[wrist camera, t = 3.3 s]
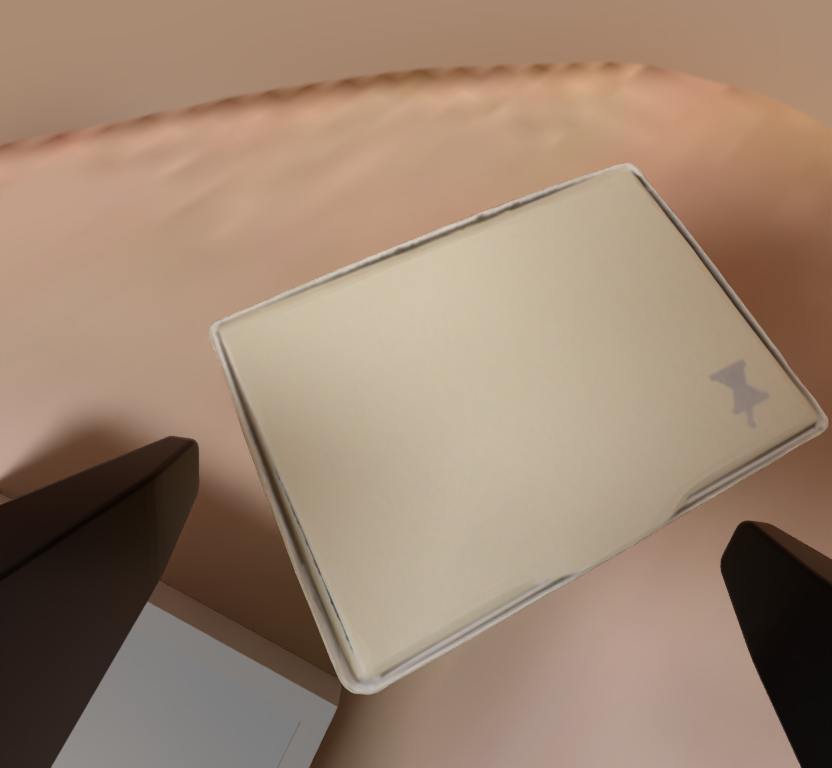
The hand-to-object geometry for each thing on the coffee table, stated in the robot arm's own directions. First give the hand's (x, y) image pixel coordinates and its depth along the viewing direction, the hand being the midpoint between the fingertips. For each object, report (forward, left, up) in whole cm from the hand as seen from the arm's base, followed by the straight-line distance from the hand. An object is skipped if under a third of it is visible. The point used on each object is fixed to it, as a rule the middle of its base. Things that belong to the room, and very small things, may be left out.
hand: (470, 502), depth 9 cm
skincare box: (0, -1, -9) cm, 9 cm away
